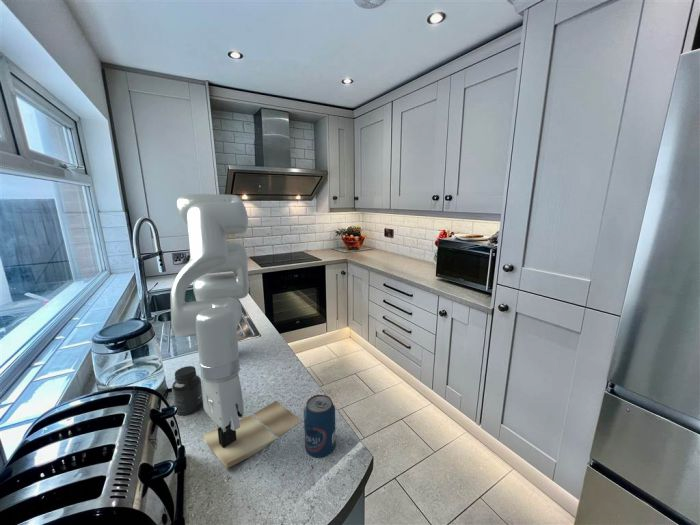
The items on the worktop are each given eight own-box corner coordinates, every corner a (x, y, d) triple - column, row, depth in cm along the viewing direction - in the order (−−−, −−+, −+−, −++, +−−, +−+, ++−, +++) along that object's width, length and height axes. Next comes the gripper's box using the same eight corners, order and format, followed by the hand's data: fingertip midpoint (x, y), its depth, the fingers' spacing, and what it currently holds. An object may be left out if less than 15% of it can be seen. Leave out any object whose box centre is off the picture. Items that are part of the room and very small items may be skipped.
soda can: (299, 457, 64) (297, 409, 61) (313, 434, 70) (312, 390, 68) (328, 466, 62) (327, 417, 59) (340, 441, 68) (339, 396, 66)
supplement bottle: (207, 410, 78) (203, 370, 76) (179, 424, 74) (173, 381, 71) (199, 399, 83) (194, 361, 81) (172, 410, 78) (166, 370, 76)
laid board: (253, 418, 76) (253, 414, 75) (276, 404, 81) (275, 400, 81) (279, 441, 68) (278, 437, 68) (302, 424, 73) (302, 420, 73)
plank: (203, 438, 66) (203, 433, 66) (251, 419, 75) (251, 414, 75) (226, 468, 59) (227, 463, 59) (276, 443, 68) (277, 438, 68)
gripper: (188, 361, 63) (196, 434, 66) (218, 388, 53) (226, 473, 56) (222, 348, 69) (228, 417, 72) (255, 371, 59) (261, 449, 62)
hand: (227, 441), depth 64 cm, fingers closed
